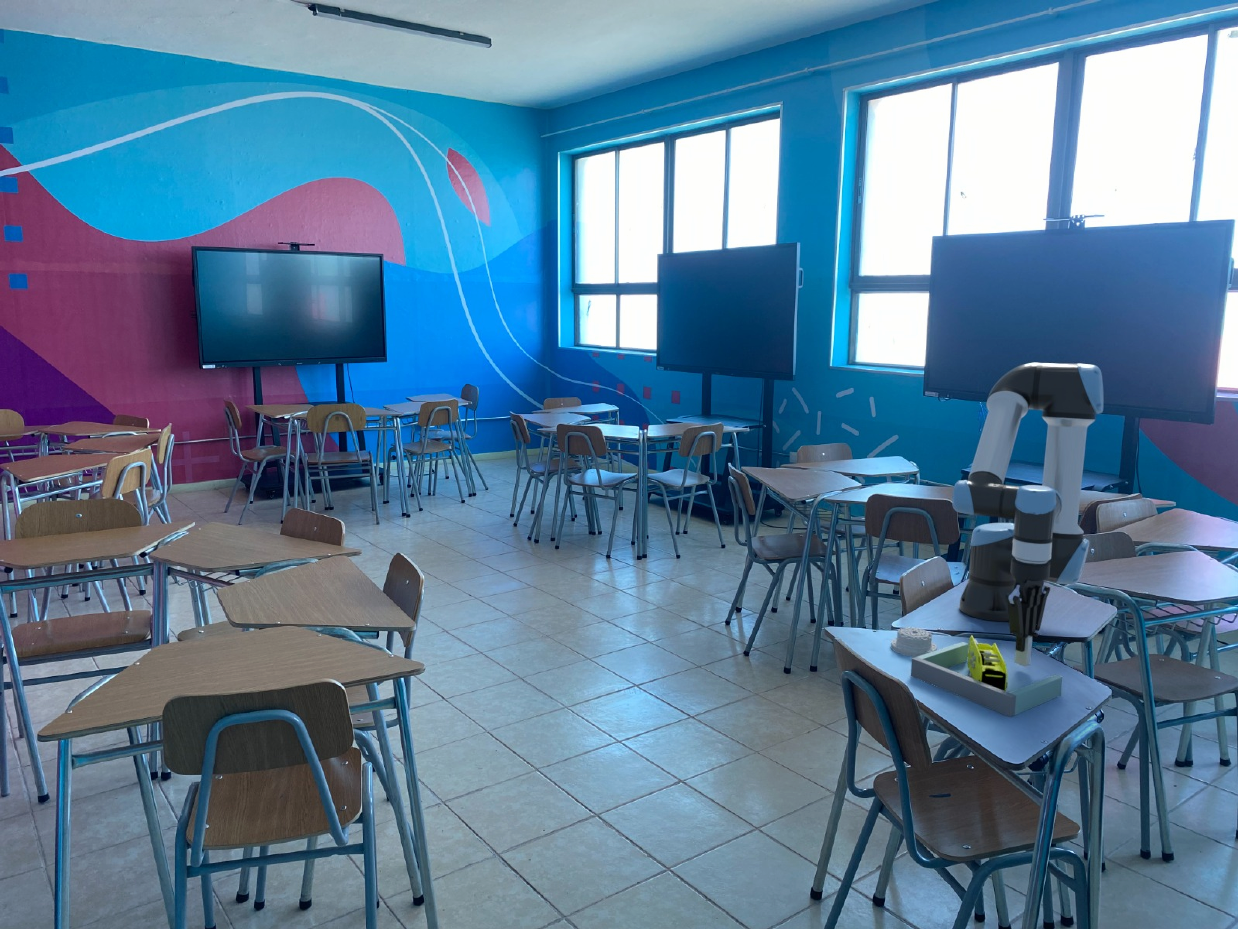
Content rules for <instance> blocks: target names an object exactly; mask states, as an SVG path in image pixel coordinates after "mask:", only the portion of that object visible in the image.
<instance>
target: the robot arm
mask: <svg viewBox="0 0 1238 929" xmlns="http://www.w3.org/2000/svg"><path fill="white" fill-rule="evenodd" d="M1104 397H1105V396H1104V382H1103V374H1102V371H1101V369H1100V367H1098V366H1097V365H1095V364H1088V363H1087V364H1086V363H1080V362H1079V363H1060V362H1059V363H1057V362H1055V363H1052V362H1051V363H1049V362H1028V363H1025V364H1020V365H1018V366H1015V367H1014V368H1013V369H1011V370H1009V371H1008V372H1006V373H1005V374H1004V375H1003V376H1001V377H1000V378H999V379H998V381H997V382H996V383H995V384H994V385H993V387H992V388H991V390H990V392H989V394H988V396H987V401H986V409H987V411H988V412H987V415H986V419H985V422H984V425H983V428H982V431H981V435H980V438H979V442H978V444H977V448H976V452H975V455H974V458H973V461H972V464H971V467H970V471H969V474H968V479H963V480H957V481H956V482H955V484H954V487H953V490H952V498H951V501H952V508H953V510H954V511H955V512H958V513H961V514H967V515H971V516H975V515H976V516H982V517H983V516H984V517H993V518H1001V519H1007V520H1014V523H1013V522H992V523H991V522H990V523H984V524H981V525H977V526H976V527H975V528H974V529H973V531H972V533H971V534H972V535H971V542H970V552H969V553H970V554H969V568H968V569H969V571H968V581H967V582H966V586H965V587H964V590H963V592H962V594H961V597H960V599H959V610H960V612H962V613H964V614H965V615H967V616H970V617H973V618H977V619H981V620H984V621H985V620H986V621H994V622H1008V626H1009V634H1011V635H1014V636H1016V637H1015V649H1014V650H1015V651H1014V652H1015V654H1014V664H1016V665H1020V666H1022V667H1025V668H1027V667H1030V666H1031V657H1032V647H1033V646H1032V644H1033V637H1035V638H1037V637H1038V636H1039V633H1038V632H1040V631H1041V630H1040V629H1041V626H1042V621H1043V617H1044V612H1045V608H1046V604H1047V601H1048V600H1047V599H1048V595H1049V594H1050V591H1051V587H1050V586H1046V585H1045V582H1049V583H1052V584H1053V583H1054V584H1055V585H1060V584H1061V585H1070V586H1071V585H1076V584H1077V583H1079V581H1080V579H1081V577H1082V573H1083V572H1084V568H1085V564H1086V561H1087V557H1088V553H1089V549H1090V540H1089V539H1087V538H1084V532H1085V531H1084V530H1083V529H1082V528H1081V527H1080V526H1079V524H1078V523H1079V522H1078V521H1079V511H1080V502H1081V493H1082V492H1081V491H1082V481H1083V472H1084V461H1085V454H1086V452H1085V451H1086V441H1087V433H1088V427H1089V426H1090V425H1091V424H1093V423H1094V422H1095V421H1096V414H1097V415H1099V414H1102V413H1104V412H1103V411H1104V402H1105V401H1104ZM1029 410H1034V411H1035V410H1036V411H1042V412H1041V413H1042V414H1041V418H1042V419H1043V420H1044V422H1045V423H1046V424H1047V434H1046V442H1045V443H1046V445H1045V453H1044V463H1043V472H1042V473H1043V474H1042V484H1041V485H1037V484H1027V485H1021V486H1020V485H1011V484H1005V479H1006V474H1007V471H1008V467H1009V464H1010V461H1011V457H1012V453H1013V450H1014V445H1015V442H1016V438H1017V435H1018V432H1019V431H1018V430H1019V427H1020V424H1021V420H1022V418H1024V417H1025V416H1026V415H1027V414H1028V411H1029Z"/></svg>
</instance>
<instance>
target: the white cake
mask: <svg viewBox="0 0 1238 929" xmlns="http://www.w3.org/2000/svg"><path fill="white" fill-rule="evenodd" d="M932 635H933V634H932V632H931V631H927V630H925V629H924V628H919V627H918V628H917V627H912V626H911V627H908V626H906V627H904V628H901V627H900V628H899V629H898V630H897V633H896V636H897V637H895V638H893V639H892V640H891V641H890V648H891V649H892V651H894V652H896V653H898V654H901V655H903V656H908V657H912V658H914V657H917V656H921V655H924V654H927V653H930V652H933V651H936V650H938V646H937V645H936V643H934V642H932V641H933V640H932V639H933V636H932Z"/></svg>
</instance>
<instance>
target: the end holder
mask: <svg viewBox="0 0 1238 929" xmlns="http://www.w3.org/2000/svg"><path fill="white" fill-rule="evenodd" d="M968 652H969V642H968V643H967V642H964V641H962V642H957V643H955V644H952V645H948V646H945V647H942V648H940V649H937V650H936V651H933V652H930V653H927V654H924V655H921V656H917V657H912V658H911V664H910V666H911V667H910V677H912V678H915V679H917V680H919V681H921V680H922V682H924V681H925V682H924V683H926V682H927V684H929V685H931V684H933V685H932V686H934V685H935V686H934V687H936V686H937V687H936V688H938V689H941V690H944V691H946V692H948V693H951V694H953V695H956V696H958V697H961V698H963V699H966V700H968V701H970V702H973V703H974V704H978V705H980V706H982V707H984V708H987V709H990V710H992V711H995V712H997V713H999V714H1002V715H1004V716H1006V717H1009V718H1011V717H1013V716H1015V715H1018V714H1021V713H1023V712H1025V711H1027V710H1030V709H1032V708H1036V707H1037V706H1040V705H1041V704H1045V703H1046V702H1049V701H1051V700H1054V699H1057V698H1059V697H1061V696H1062V690H1063V689H1062V687H1063V679H1064V678H1063V677H1064V676H1061V675H1058V674H1053V675H1051V676H1048V677H1045V678H1043V679H1040V680H1038V681H1035V682H1032V683H1031V684H1027V685H1025V686H1023V687H1020V688H1017V689H1015V690H1013V691H1010V692H1008V691H1007V690H1006V691H1003V690H1001V689H998V688H996V687H993V686H990V685H988V684H985V683H983V682H980V681H978V680H975V679H972V678H970V677H969V676H967V675H964V674H962V673H959V672H956V671H954V670H951V669H949V668H952V667H954V666H957V665H960V664H963V663H966V662H968Z"/></svg>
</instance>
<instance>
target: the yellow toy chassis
mask: <svg viewBox="0 0 1238 929" xmlns="http://www.w3.org/2000/svg"><path fill="white" fill-rule="evenodd" d="M968 644H969V647H968V660H967V667H968V670H969V673H968V677H970V678H972V679H975V680H978V681H980V682H983V683H985V684H988V685H990V686H993V687H996V688H998V689H1001V690H1003V691H1006V692H1007V689H1008V669H1007V664H1006V662H1005V660H1004V658H1003V655H1002V654H1001V652H1000V649H999V648H998V645H997V643H996V642H994V643H993V644H992V645H990V644H989V643H979V642H978V640H977V639H976V638H974V636H973V635H971V636H970V637H969V640H968Z"/></svg>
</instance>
